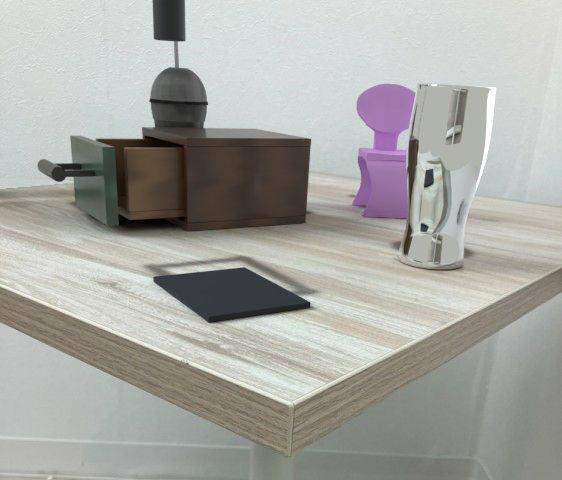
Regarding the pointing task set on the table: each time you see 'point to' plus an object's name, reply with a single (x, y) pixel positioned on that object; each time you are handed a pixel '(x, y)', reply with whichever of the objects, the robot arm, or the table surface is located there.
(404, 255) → the beer glass
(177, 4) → the marker
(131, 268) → the table surface
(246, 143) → the cabinet
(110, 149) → the drawer
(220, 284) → the mat
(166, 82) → the beverage cup
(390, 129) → the toy chair
